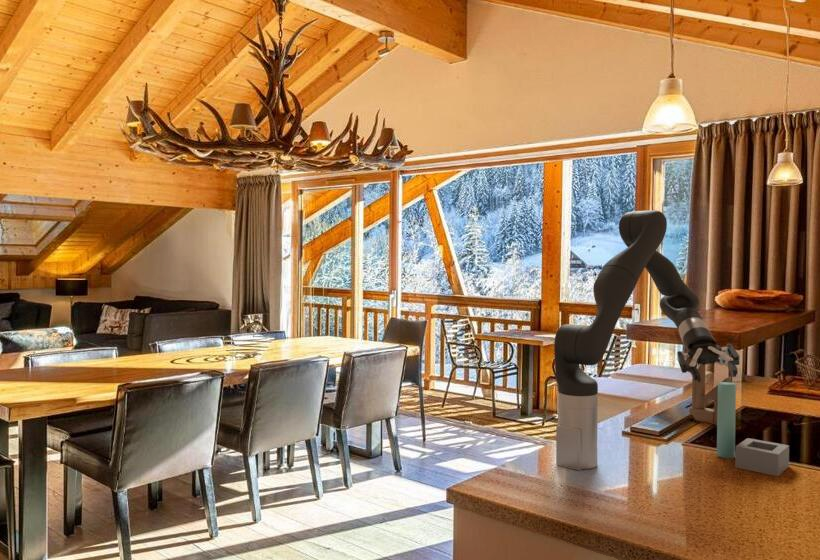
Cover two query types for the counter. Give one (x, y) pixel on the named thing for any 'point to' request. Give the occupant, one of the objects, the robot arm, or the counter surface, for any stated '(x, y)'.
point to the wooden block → (699, 399)
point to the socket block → (762, 456)
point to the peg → (726, 419)
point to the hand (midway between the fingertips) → (716, 376)
